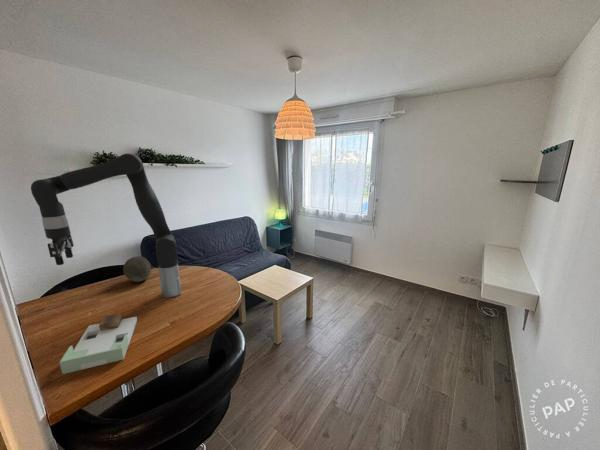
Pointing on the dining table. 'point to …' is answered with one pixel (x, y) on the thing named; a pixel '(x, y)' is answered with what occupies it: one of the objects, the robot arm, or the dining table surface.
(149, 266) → the cantaloupe
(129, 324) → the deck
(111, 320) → the block
